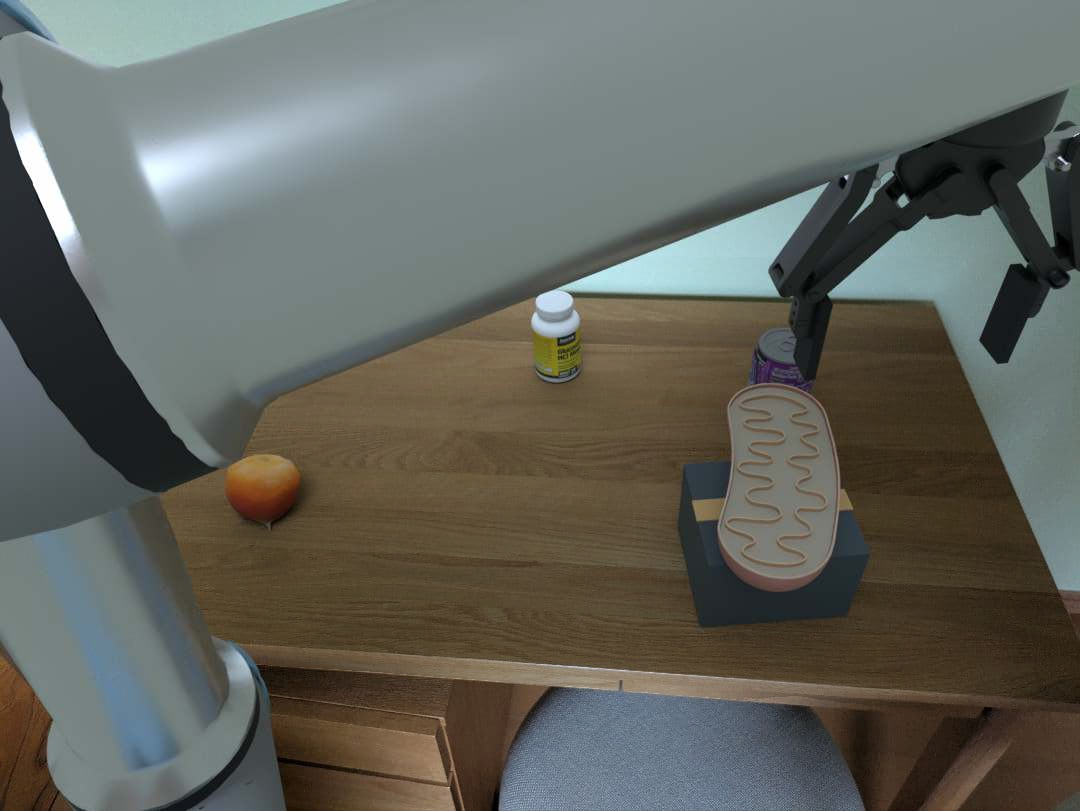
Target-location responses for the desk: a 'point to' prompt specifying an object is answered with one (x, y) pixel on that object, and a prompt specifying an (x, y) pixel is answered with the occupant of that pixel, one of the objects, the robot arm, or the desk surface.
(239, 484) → the fruit
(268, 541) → the desk surface
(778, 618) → the dark blue box
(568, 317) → the pill bottle
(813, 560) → the anatomical model
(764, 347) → the beverage can
